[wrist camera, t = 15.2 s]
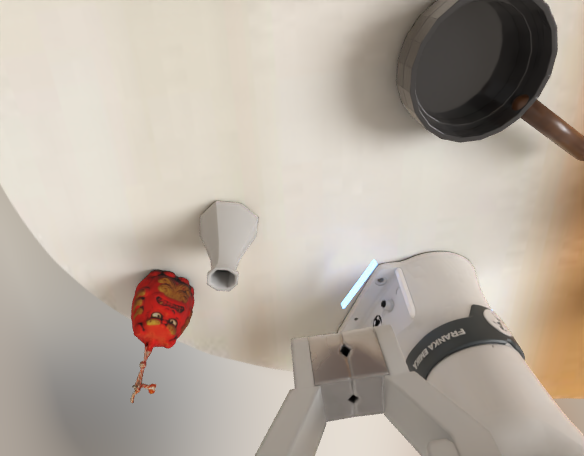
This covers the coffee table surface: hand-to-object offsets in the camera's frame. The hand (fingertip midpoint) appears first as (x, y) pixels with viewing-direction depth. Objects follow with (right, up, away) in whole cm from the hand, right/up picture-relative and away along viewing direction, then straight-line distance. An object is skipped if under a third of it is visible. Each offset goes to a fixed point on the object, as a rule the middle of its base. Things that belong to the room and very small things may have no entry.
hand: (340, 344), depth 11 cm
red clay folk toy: (-18, -4, +39) cm, 43 cm away
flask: (-9, +4, +34) cm, 36 cm away
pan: (+15, +20, +26) cm, 36 cm away
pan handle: (+25, +14, +27) cm, 40 cm away
